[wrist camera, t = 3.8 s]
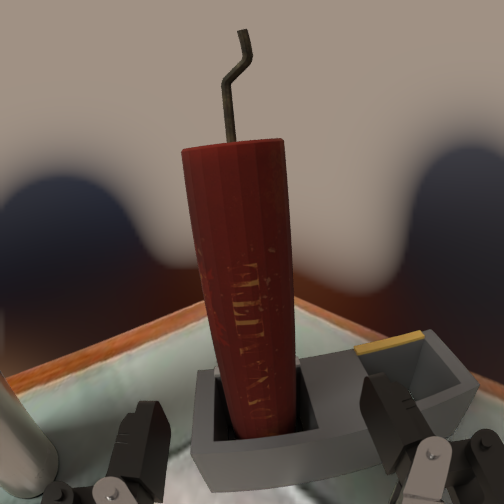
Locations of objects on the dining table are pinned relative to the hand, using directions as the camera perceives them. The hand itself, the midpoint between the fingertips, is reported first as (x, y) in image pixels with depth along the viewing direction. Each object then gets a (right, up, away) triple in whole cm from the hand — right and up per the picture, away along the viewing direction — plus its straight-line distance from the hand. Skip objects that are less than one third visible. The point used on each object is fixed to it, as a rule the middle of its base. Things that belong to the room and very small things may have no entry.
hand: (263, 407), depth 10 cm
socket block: (+7, -11, +12) cm, 18 cm away
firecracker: (+1, -12, +12) cm, 17 cm away
